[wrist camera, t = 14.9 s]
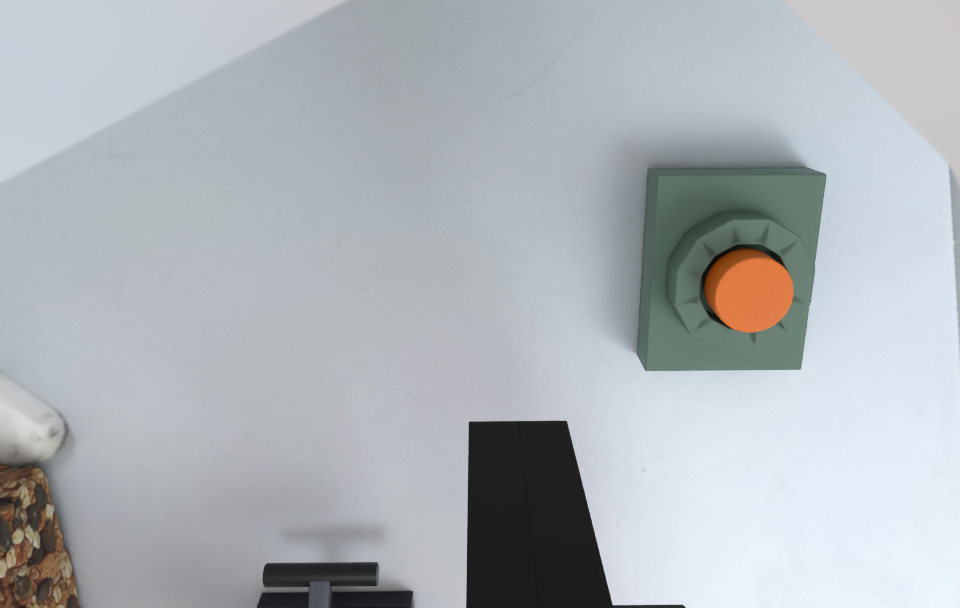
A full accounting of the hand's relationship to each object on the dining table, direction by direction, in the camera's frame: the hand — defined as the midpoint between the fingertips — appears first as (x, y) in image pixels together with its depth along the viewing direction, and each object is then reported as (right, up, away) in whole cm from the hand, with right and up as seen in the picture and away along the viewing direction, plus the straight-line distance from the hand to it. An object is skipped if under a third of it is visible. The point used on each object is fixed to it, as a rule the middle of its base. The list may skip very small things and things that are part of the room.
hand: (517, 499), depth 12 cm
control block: (+12, +5, +28) cm, 31 cm away
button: (+12, +4, +25) cm, 28 cm away
